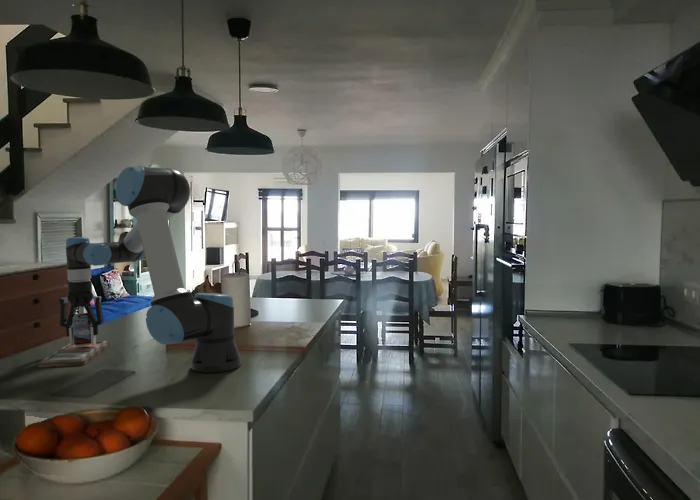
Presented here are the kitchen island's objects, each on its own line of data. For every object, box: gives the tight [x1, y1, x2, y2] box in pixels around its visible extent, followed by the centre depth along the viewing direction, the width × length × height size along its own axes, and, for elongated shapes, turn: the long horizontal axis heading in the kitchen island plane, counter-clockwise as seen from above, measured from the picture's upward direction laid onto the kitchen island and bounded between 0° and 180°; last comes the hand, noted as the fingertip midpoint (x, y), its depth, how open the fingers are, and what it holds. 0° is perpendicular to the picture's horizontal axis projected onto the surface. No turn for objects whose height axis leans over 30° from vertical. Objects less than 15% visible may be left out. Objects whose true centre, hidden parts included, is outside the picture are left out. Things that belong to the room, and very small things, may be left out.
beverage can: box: [72, 312, 93, 346], centre depth 190 cm, size 6×7×12 cm
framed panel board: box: [37, 340, 110, 368], centre depth 184 cm, size 26×14×2 cm, turn 7°
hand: (83, 344), depth 190 cm, fingers closed on beverage can, 6 cm apart
